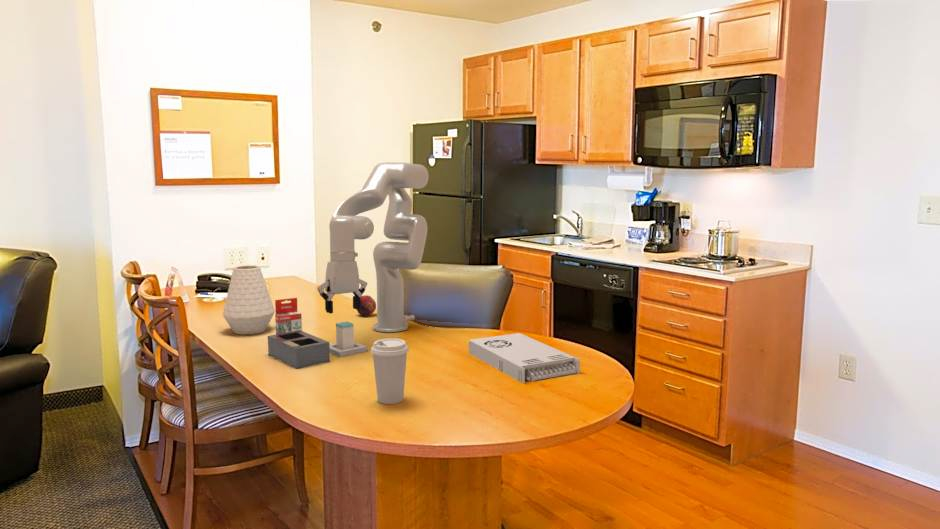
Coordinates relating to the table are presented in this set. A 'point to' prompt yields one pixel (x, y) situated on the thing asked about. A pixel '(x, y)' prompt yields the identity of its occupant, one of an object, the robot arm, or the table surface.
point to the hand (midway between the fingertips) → (343, 310)
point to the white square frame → (357, 349)
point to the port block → (298, 349)
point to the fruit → (366, 305)
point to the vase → (248, 301)
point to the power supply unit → (523, 357)
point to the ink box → (287, 316)
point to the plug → (345, 335)
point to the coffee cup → (390, 369)
